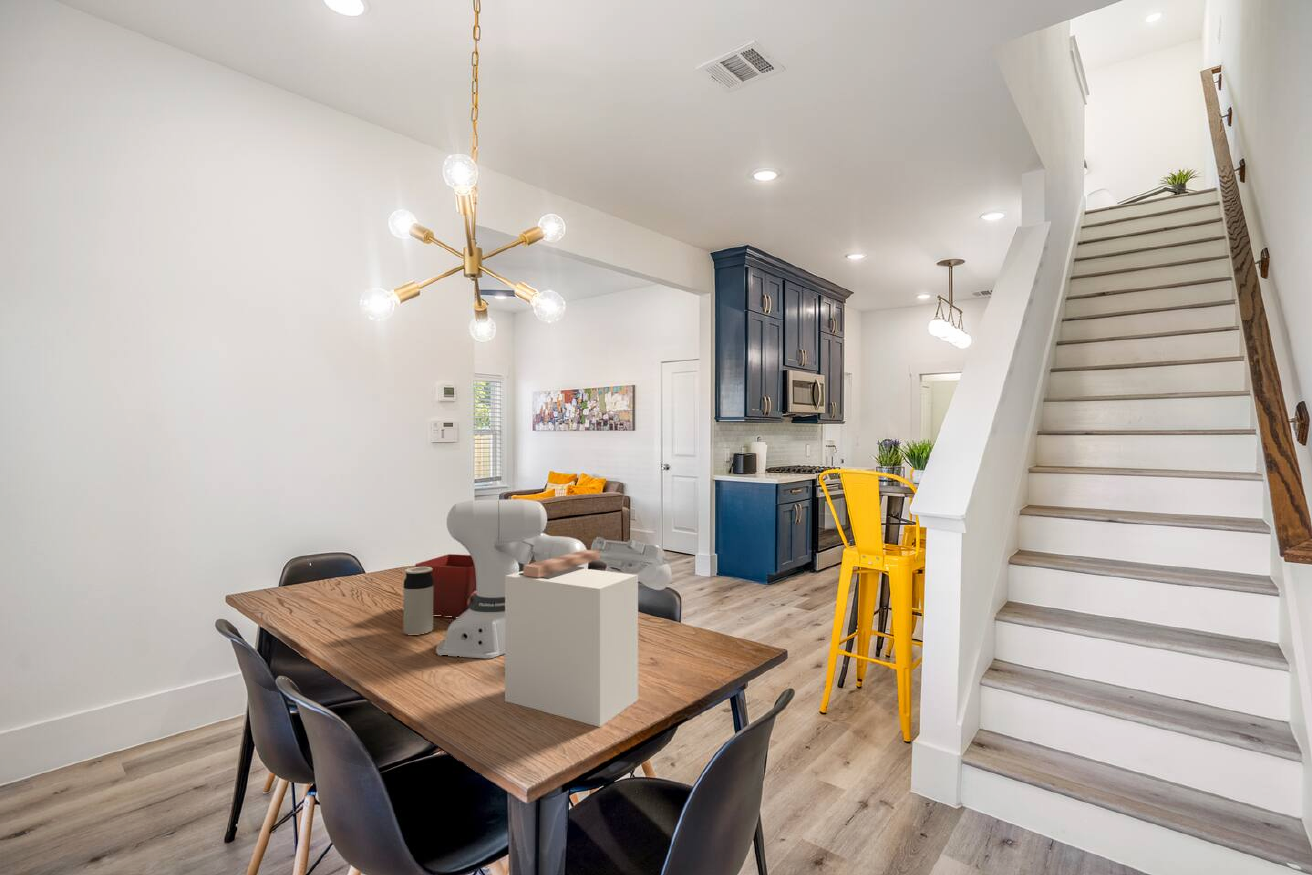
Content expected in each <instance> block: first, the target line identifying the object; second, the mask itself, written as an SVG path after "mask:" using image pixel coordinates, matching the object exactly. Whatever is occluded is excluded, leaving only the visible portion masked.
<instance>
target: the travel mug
mask: <svg viewBox="0 0 1312 875" xmlns="http://www.w3.org/2000/svg"><path fill="white" fill-rule="evenodd" d="M432 570H433V569H432V568H431V567H416V566H415V567H409V568H406V569H404V572H405V576H406V577H405V579H404V581H403V617H402V618H403V620H402V622H403V629H402V631H404V633H407V634H422V633H426V632H429V631H431V632H433V631H432V630H434V616H433V578H432V576H431V571H432ZM404 633H403V634H404Z"/></svg>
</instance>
